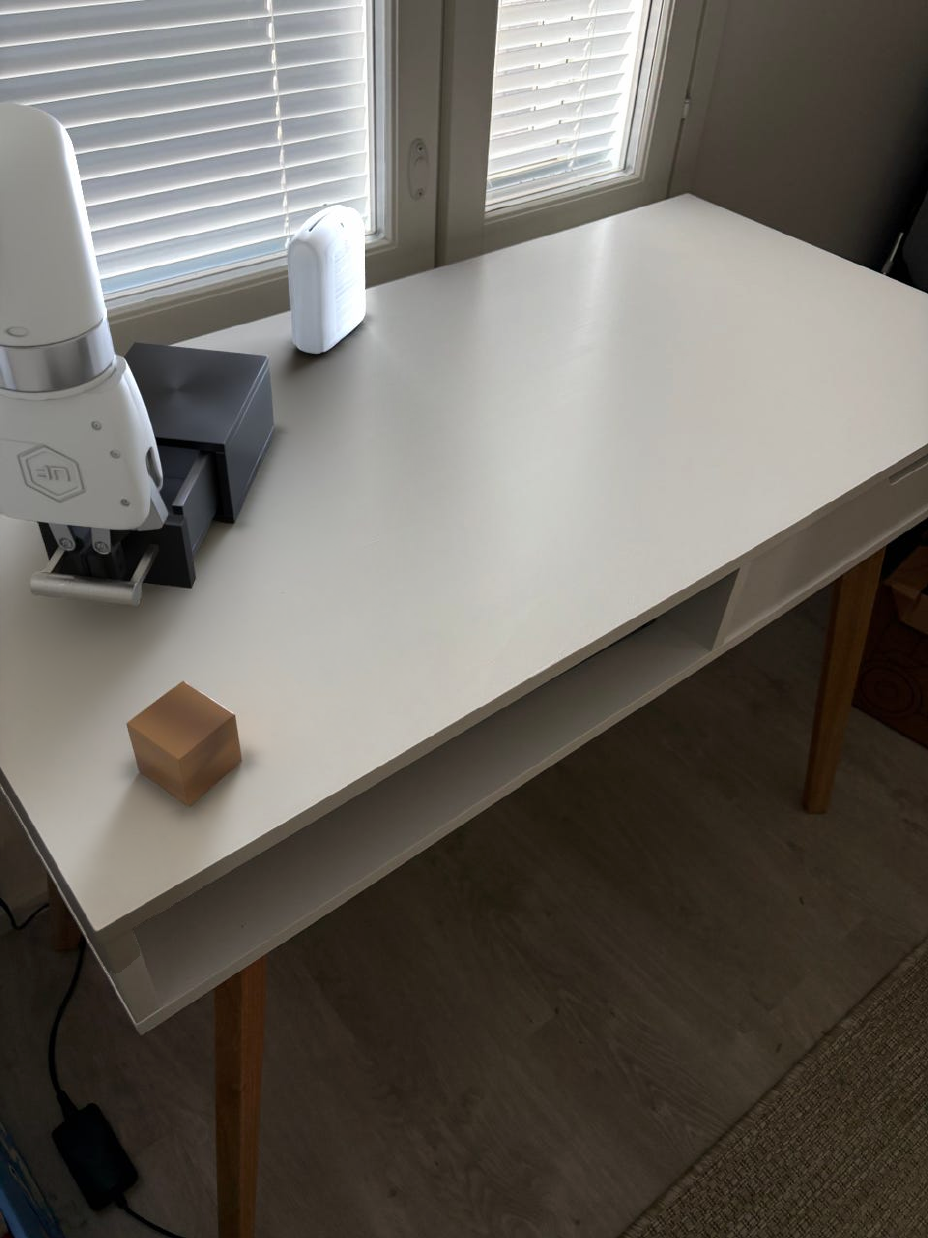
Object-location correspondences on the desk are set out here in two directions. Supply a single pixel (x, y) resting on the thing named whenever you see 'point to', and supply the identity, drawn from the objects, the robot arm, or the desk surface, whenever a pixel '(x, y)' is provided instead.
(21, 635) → the desk surface
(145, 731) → the tan wooden cube
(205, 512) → the drawer with bar handle
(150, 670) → the desk surface
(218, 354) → the black drawer unit
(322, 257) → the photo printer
